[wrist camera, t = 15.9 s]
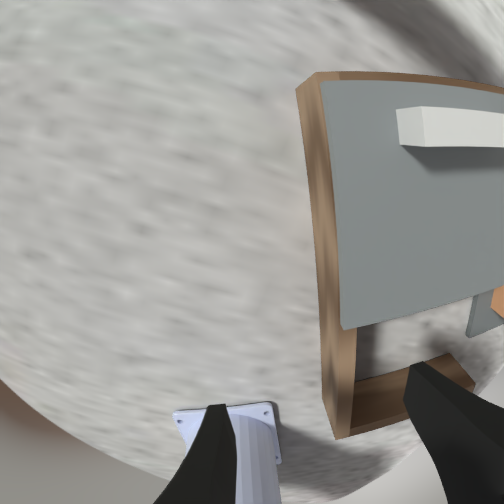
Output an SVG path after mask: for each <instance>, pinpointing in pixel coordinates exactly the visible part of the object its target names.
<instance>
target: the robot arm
mask: <svg viewBox="0 0 504 504" xmlns="http://www.w3.org/2000/svg"><path fill="white" fill-rule="evenodd" d="M403 402H404V405H405V407H406V410H407V412H408V415H409V417H410V420H411V422H412V423H413V425H414V427H415V429H416V431H417V432H418V434H419V436H420V438H421V439H422V441H423V443H424V445H425V447H426V448H427V450H428V452H429V454H430V455H431V457H432V459H433V462H434V464H435V466H436V468H437V471H438V474H439V476H440V479H441V482H442V485H443V488H444V491H445V494H446V497H447V501H448V504H504V408H501V407H499V406H497V405H494V404H492V403H489V402H488V401H486V400H484V399H482V398H480V397H478V396H477V395H475V394H473V393H471V392H469V391H468V390H466V389H464V388H463V387H461V386H460V385H458V384H456V383H455V382H453V381H452V380H450V379H449V378H447V377H446V376H444V375H443V374H441V373H440V372H438V371H437V370H435V369H434V368H433V367H431V366H430V365H428V364H426V363H425V362H423V361H422V362H419V363H416V364H413V365H410V368H409V373H408V378H407V383H406V387H405V392H404V396H403ZM266 411H268V412H266ZM172 417H173V419H174V421H175V424H176V426H177V428H178V430H179V432H180V433H181V435H182V437H183V439H184V441H185V443H186V445H187V446H186V455H185V458H184V460H183V462H182V464H181V465H180V467H179V469H178V471H177V472H176V474H175V475H174V477H173V478H172V480H171V481H170V483H169V484H168V485H167V487H166V488H165V490H164V491H163V492H162V494H161V495H160V496H159V497H158V498H157V499H156V501H155V502H154V503H153V504H282V502H281V495H280V488H279V480H278V473H277V466H276V465H279V464H281V463H282V460H281V454H280V448H279V442H278V436H277V430H276V424H275V419H274V413H273V407H272V404H271V403H269V402H263V403H256V404H249V405H241V406H232V407H226V404H218V405H209V406H208V407H207V409H200V410H185V411H175V412H173V416H172Z"/></svg>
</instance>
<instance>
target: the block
mask: <svg viewBox="0 0 504 504" xmlns="http://www.w3.org/2000/svg"><path fill="white" fill-rule="evenodd" d="M491 308H492V309H493V310H494V311H496V312H497V313H498V314H499V315H500V316H502V317H503V318H504V285H503V286H501V287H498V288H495V289H494V292H493V298H492V302H491Z"/></svg>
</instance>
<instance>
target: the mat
mask: <svg viewBox="0 0 504 504" xmlns="http://www.w3.org/2000/svg"><path fill="white" fill-rule="evenodd" d="M493 292H494V289H492V290H489V291H486V292H483V293H480V294H477V295H474V297H473V302H472V308H471V313H470V317H469V322H468V327H467V331H466V336H467V337H468V338H471V337H474V336H476V335H479V334H481V333H484V332H486V331H488V330H491V329H493V328H495V327H498V326H500V325H502V324H504V318H503V317H502V316H500V315H499V314H498V313H497V312H496V311H494V310H493V309H492V308H491V302H492V298H493Z"/></svg>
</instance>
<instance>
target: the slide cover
mask: <svg viewBox="0 0 504 504" xmlns="http://www.w3.org/2000/svg"><path fill="white" fill-rule="evenodd" d="M320 88H321V94H322V101H323V107H324V114H325V121H326V128H327V136H328V144H329V152H330V161H331V170H332V180H333V190H334V201H335V214H336V227H337V243H338V261H339V286H340V324H341V326H342V328H343V330H348V329H352V328H357V327H361V326H366V325H370V324H374V323H378V322H383V321H387V320H391V319H395V318H398V317H402V316H406V315H410V314H414V313H417V312H421V311H425V310H428V309H432V308H435V307H439V306H442V305H445V304H449V303H452V302H455V301H458V300H462V299H465V298H468V297H471V296H474V295H477V294H480V293H483V292H486V291H489V290H492V289H495V288H498V287H501V286H503V285H504V95H503V94H498V93H493V92H488V91H482V90H476V89H470V88H463V87H456V86H448V85H439V84H429V83H417V82H402V81H377V80H339V81H323V82H321V83H320Z"/></svg>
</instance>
